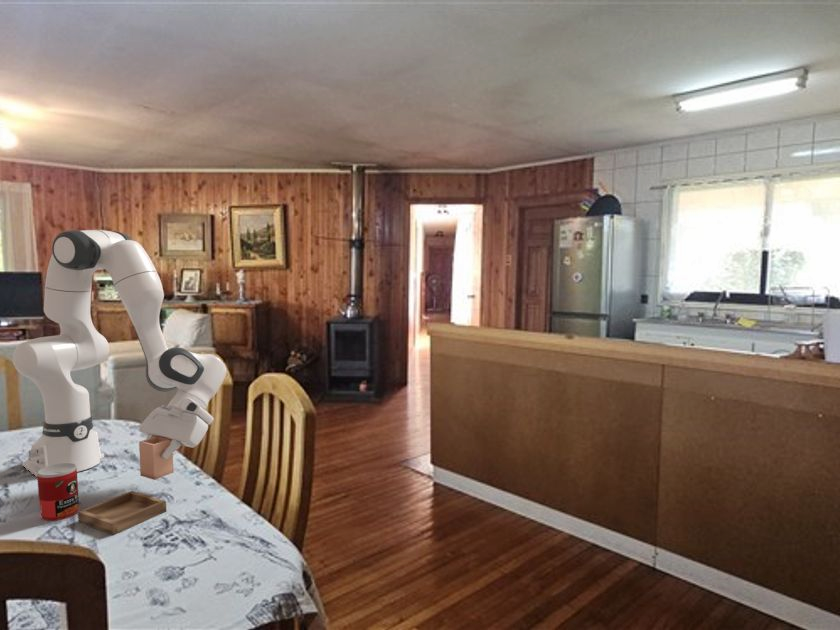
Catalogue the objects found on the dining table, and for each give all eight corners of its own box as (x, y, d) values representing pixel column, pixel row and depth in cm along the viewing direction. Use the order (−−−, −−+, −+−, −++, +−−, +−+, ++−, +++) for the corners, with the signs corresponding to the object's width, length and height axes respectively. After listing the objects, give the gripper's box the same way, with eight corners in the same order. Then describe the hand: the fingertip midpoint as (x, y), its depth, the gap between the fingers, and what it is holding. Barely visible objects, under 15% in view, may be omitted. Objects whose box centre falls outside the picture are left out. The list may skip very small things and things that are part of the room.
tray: (78, 522, 123) (77, 511, 123) (132, 500, 134) (131, 490, 134) (113, 535, 117) (112, 524, 117) (166, 511, 128) (165, 501, 128)
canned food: (60, 522, 123) (57, 476, 122) (31, 519, 125) (28, 473, 124) (87, 508, 130) (84, 463, 129) (59, 505, 132) (56, 461, 131)
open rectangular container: (140, 475, 138) (139, 441, 137) (159, 468, 143) (158, 435, 142) (154, 479, 135) (153, 445, 135) (173, 472, 140) (172, 439, 139)
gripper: (153, 397, 148) (120, 442, 141) (204, 408, 139) (172, 456, 131) (167, 409, 153) (137, 453, 145) (218, 420, 143) (188, 468, 136)
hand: (154, 455), depth 138 cm, fingers closed on open rectangular container, 5 cm apart
